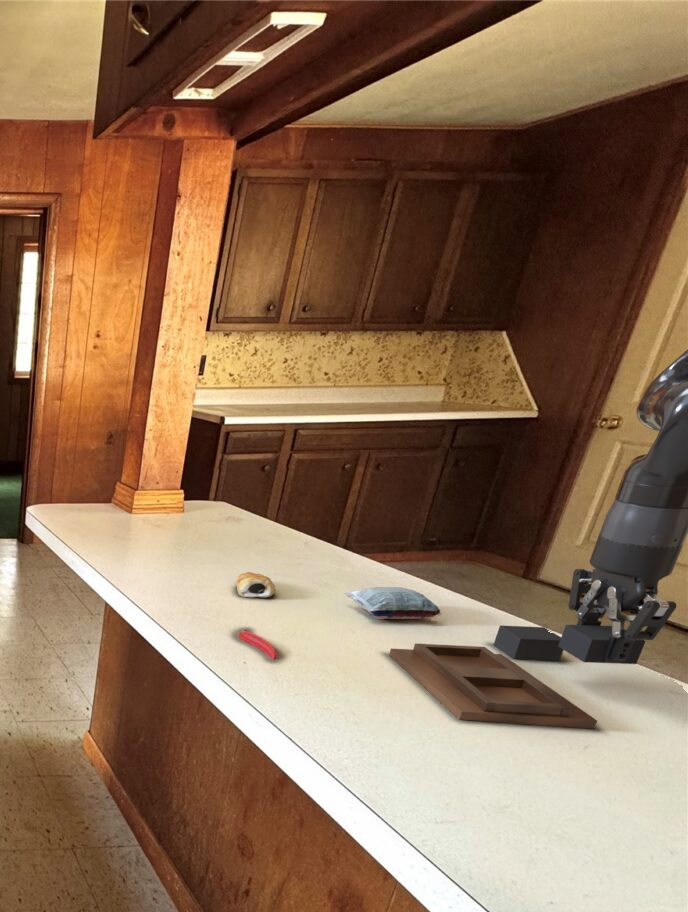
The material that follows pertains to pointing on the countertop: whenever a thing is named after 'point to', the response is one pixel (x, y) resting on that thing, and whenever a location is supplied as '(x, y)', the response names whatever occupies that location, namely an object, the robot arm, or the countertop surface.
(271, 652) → the cayenne pepper
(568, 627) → the dark grey block
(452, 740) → the countertop surface
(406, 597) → the packaged food
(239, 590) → the pastry
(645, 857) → the countertop surface
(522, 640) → the dark gray block
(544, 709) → the brown base tray
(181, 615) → the countertop surface
